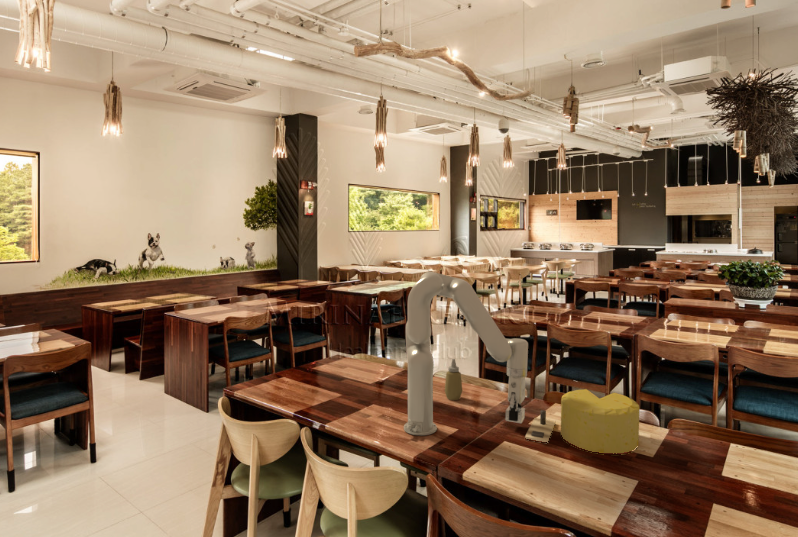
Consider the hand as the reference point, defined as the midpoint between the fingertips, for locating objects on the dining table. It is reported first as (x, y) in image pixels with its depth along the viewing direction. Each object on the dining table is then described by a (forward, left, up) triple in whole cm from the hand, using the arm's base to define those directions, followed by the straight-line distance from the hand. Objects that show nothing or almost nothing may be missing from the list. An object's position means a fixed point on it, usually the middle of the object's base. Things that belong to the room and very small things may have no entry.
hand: (515, 417), depth 187 cm
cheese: (+2, -30, -4) cm, 30 cm away
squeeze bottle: (+22, +32, -4) cm, 40 cm away
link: (0, 0, -1) cm, 1 cm away
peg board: (0, -10, -4) cm, 10 cm away
